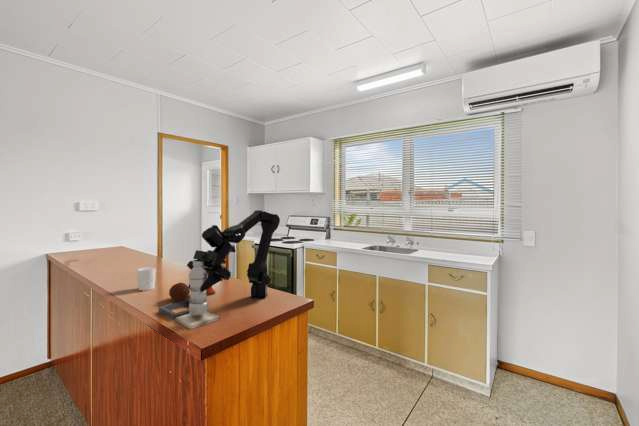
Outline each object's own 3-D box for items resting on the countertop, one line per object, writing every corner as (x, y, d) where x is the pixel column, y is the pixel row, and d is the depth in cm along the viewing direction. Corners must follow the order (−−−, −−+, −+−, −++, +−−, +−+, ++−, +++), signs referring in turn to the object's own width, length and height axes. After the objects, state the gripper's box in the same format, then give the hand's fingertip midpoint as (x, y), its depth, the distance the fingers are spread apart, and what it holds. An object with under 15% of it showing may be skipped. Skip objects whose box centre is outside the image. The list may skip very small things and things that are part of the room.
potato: (181, 295, 137) (181, 278, 137) (195, 301, 130) (195, 282, 130) (164, 299, 131) (164, 281, 131) (178, 305, 124) (178, 286, 124)
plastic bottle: (201, 319, 105) (202, 262, 104) (184, 317, 106) (184, 261, 105) (211, 312, 111) (211, 259, 111) (195, 311, 112) (195, 258, 112)
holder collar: (189, 304, 126) (189, 299, 126) (205, 310, 118) (205, 305, 118) (158, 312, 116) (158, 306, 116) (174, 320, 108) (174, 314, 108)
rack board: (203, 312, 116) (203, 309, 116) (219, 319, 109) (219, 316, 109) (175, 320, 108) (175, 317, 108) (191, 329, 101) (191, 325, 101)
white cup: (158, 288, 148) (158, 268, 148) (142, 292, 141) (142, 271, 141) (150, 285, 152) (150, 266, 152) (134, 289, 146) (134, 269, 145)
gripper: (191, 240, 116) (164, 273, 107) (224, 243, 106) (198, 281, 97) (207, 257, 123) (184, 290, 114) (240, 262, 114) (217, 298, 104)
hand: (195, 289), depth 107 cm, fingers closed on plastic bottle, 6 cm apart
